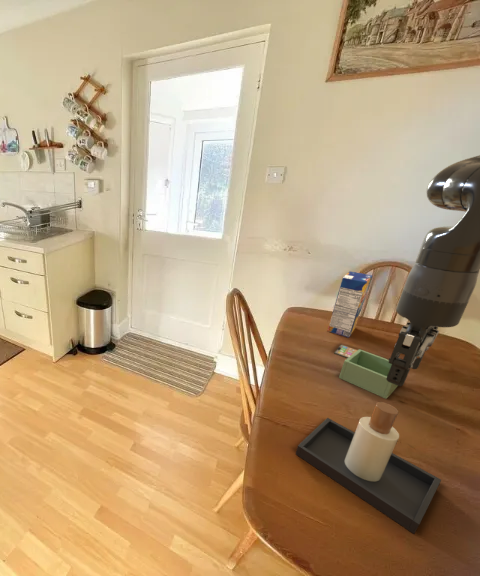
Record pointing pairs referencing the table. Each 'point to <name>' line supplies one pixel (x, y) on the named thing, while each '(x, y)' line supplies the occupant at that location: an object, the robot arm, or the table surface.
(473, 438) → the table surface
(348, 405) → the table surface
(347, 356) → the smartphone
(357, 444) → the bottle
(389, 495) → the tray
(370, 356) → the bin
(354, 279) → the beverage box
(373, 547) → the table surface
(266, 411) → the table surface
